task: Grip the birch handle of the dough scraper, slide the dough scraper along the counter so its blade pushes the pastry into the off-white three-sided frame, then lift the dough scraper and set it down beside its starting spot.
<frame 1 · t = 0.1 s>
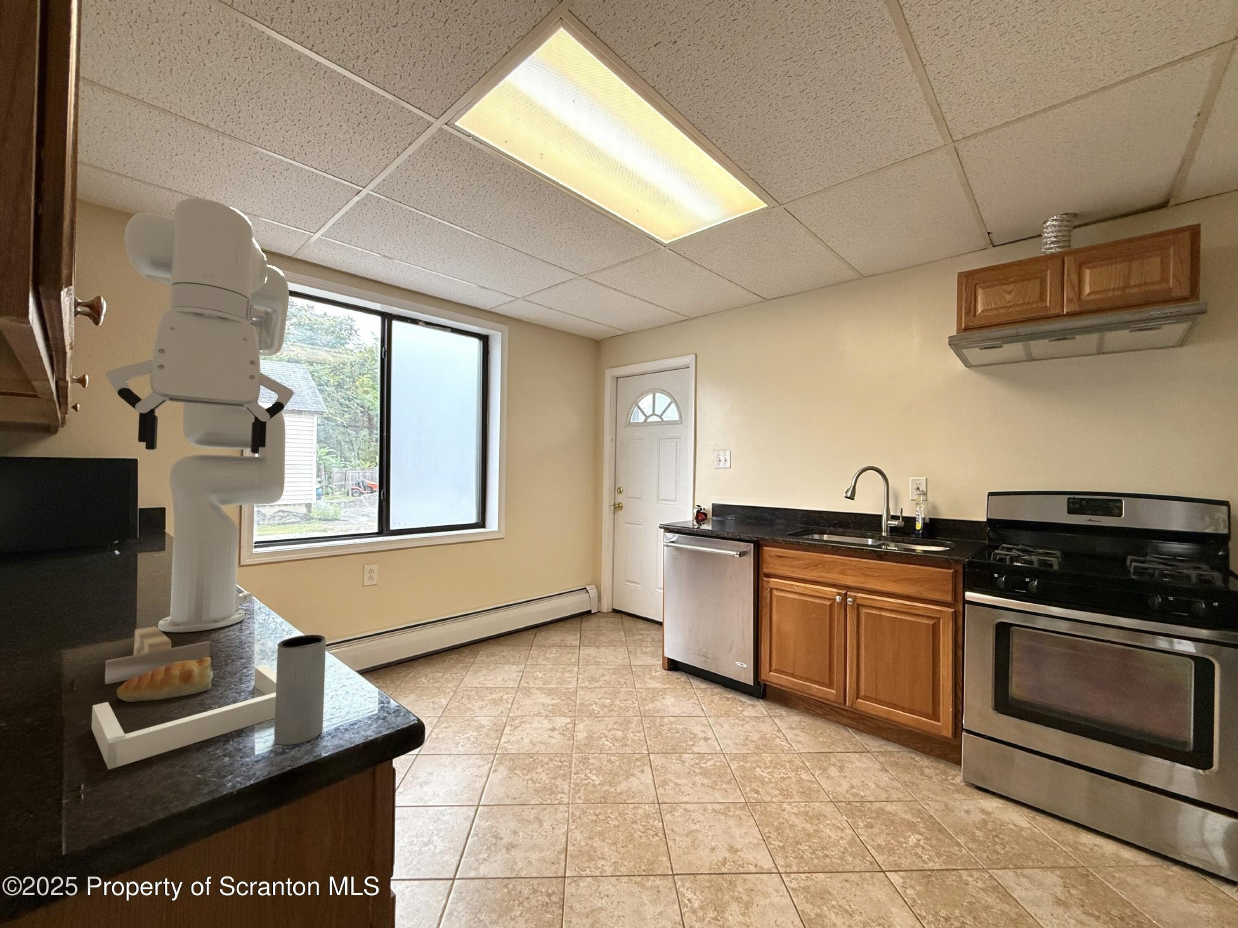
hand: (205, 451, 61), 31 cm above the countertop, tool pointing down, fingers open, 9 cm apart
dough scraper: (151, 661, 76), on the countertop
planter: (298, 736, 56), on the countertop
pastry: (174, 693, 66), on the countertop
frame: (198, 717, 59), on the countertop
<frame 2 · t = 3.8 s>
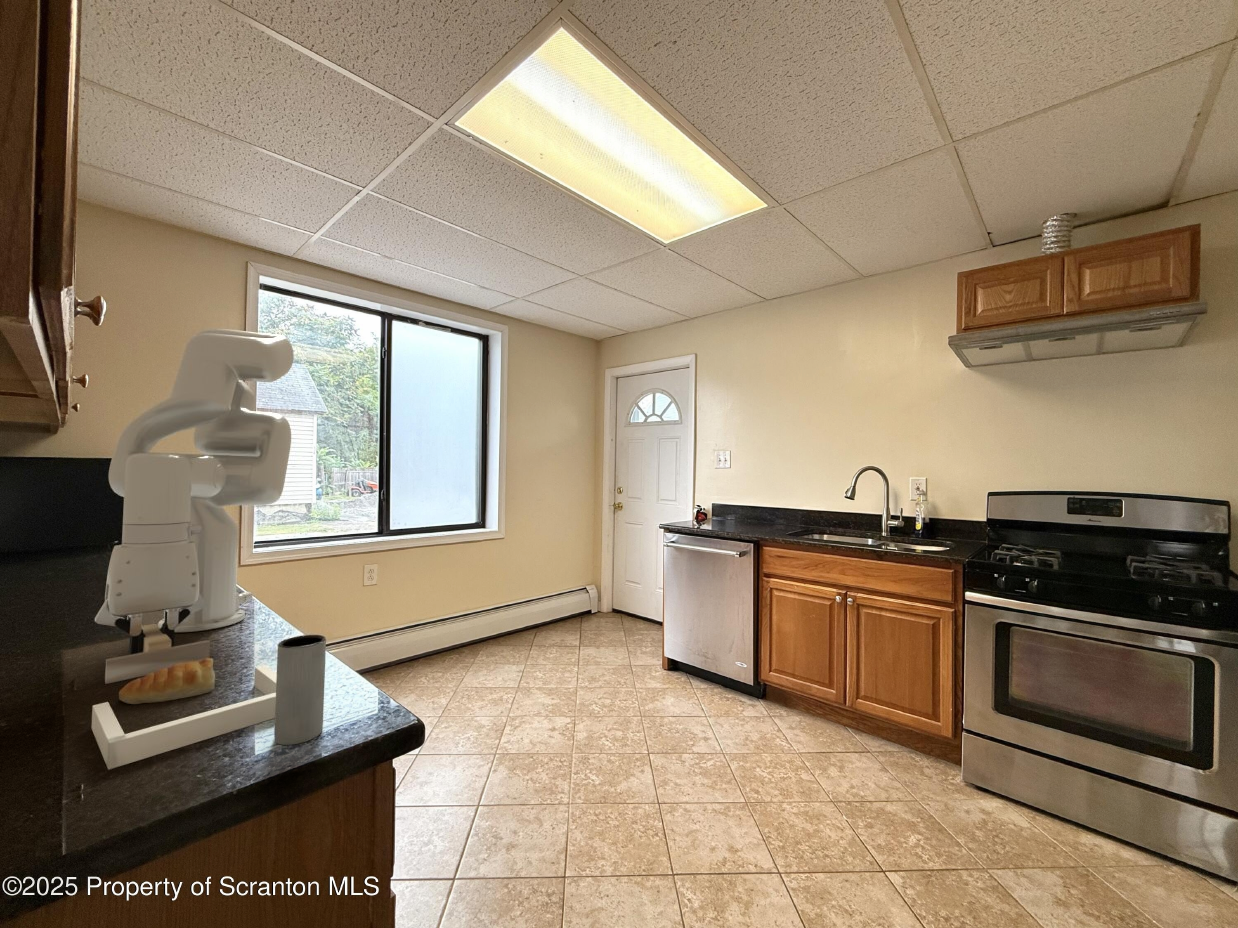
hand: (151, 656, 76), 1 cm above the countertop, tool pointing down, fingers closed on dough scraper, 2 cm apart
dough scraper: (151, 659, 76), on the countertop, touching gripper
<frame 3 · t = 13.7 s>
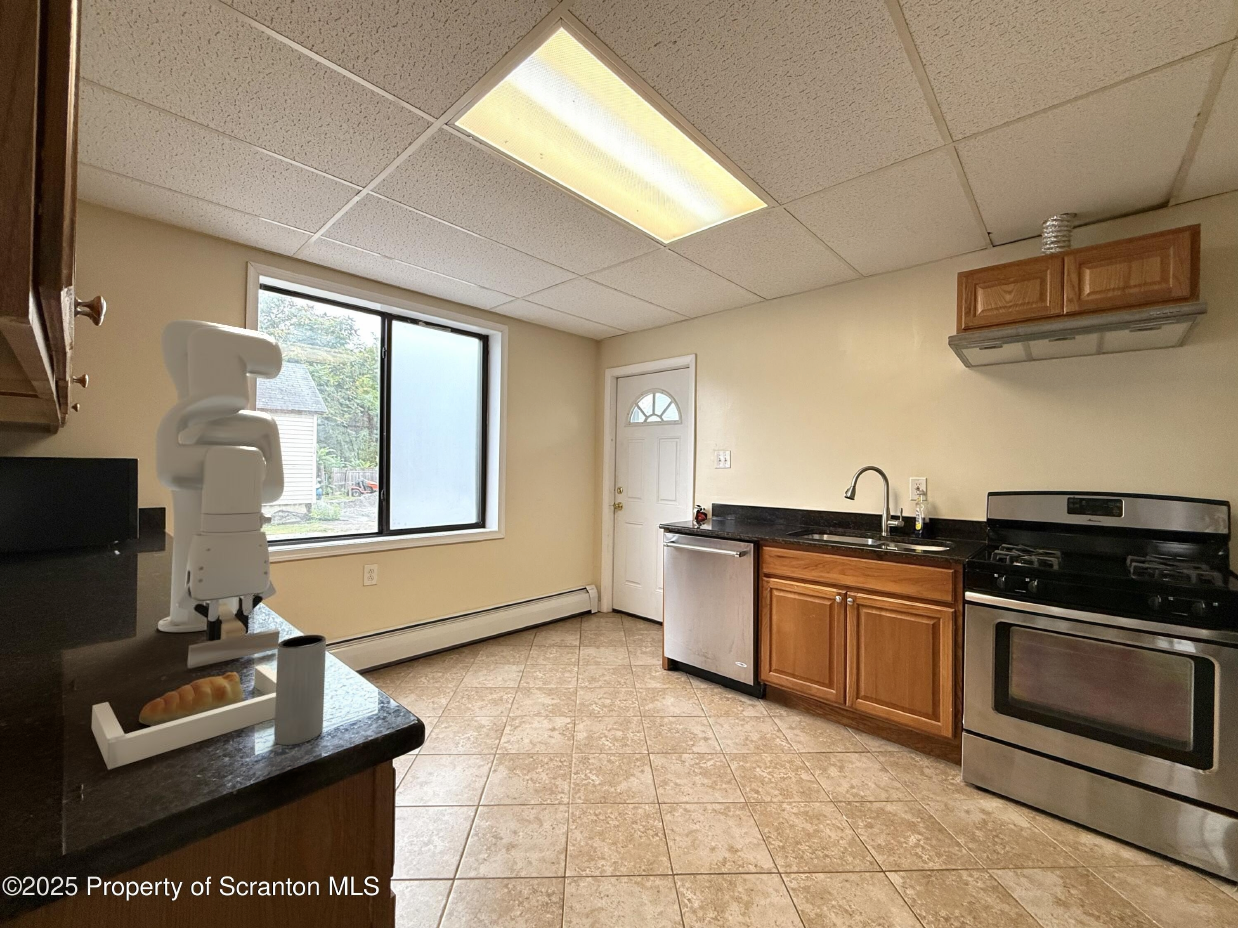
hand: (227, 641, 79), 2 cm above the countertop, tool pointing down, fingers closed on dough scraper, 2 cm apart
dough scraper: (223, 640, 80), point 2 cm above the countertop, tilted 11°, touching gripper
pastry: (200, 713, 61), on the countertop
everything else where it was.
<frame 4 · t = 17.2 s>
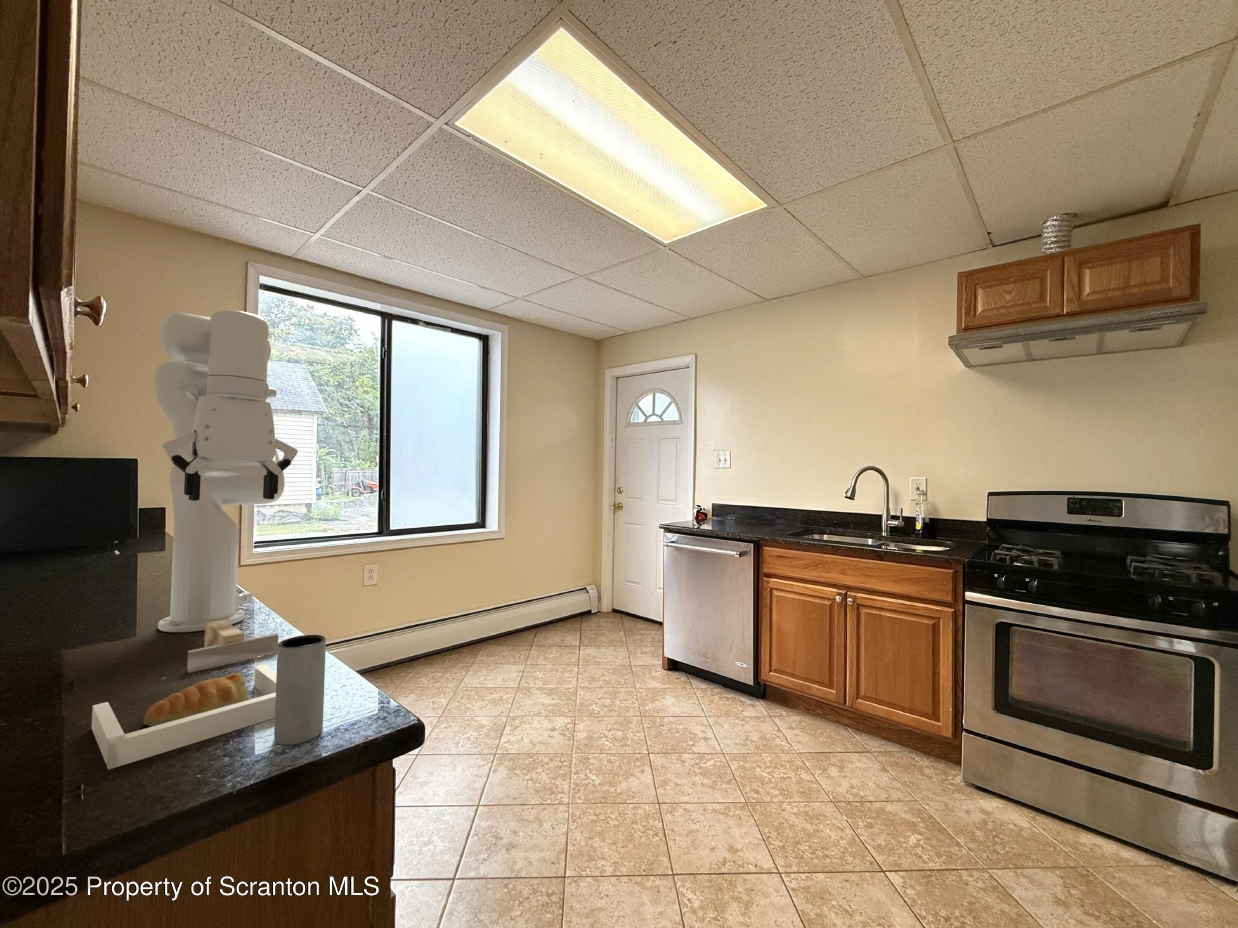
hand: (233, 499, 80), 24 cm above the countertop, tool pointing down, fingers open, 9 cm apart
dough scraper: (223, 652, 80), on the countertop
at the end: pastry inside the target area on the frame (1.6 cm from its centre), point -0.5 cm above the frame's base; the gripper is holding nothing; dough scraper touching countertop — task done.
